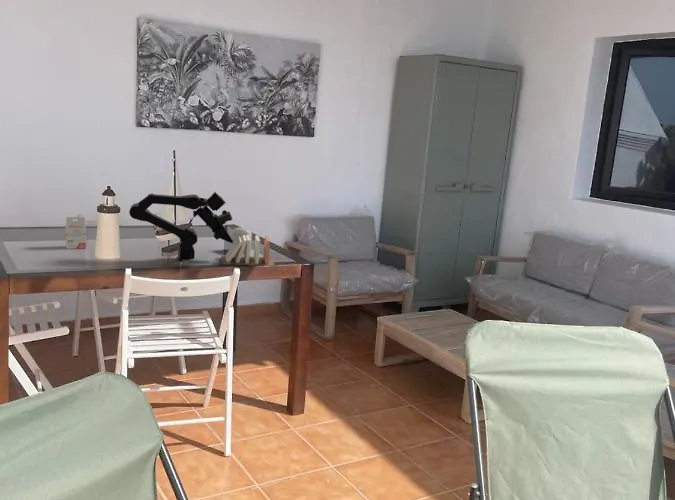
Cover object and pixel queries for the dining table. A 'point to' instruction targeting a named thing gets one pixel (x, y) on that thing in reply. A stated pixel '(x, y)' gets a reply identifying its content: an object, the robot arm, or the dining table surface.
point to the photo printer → (239, 233)
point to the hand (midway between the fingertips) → (232, 242)
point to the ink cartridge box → (75, 233)
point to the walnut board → (251, 261)
